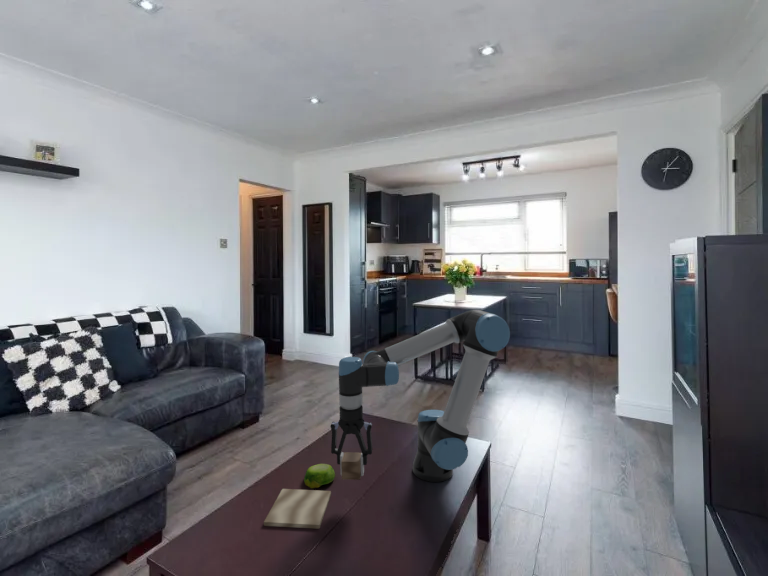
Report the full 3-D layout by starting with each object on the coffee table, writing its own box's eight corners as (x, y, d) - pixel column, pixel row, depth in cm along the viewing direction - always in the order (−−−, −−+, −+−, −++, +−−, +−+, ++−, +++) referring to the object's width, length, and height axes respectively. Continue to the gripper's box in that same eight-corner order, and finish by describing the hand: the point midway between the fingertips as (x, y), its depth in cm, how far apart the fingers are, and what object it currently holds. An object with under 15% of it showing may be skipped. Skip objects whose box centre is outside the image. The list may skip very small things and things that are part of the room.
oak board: (331, 494, 133) (331, 491, 133) (319, 528, 116) (319, 524, 116) (282, 492, 134) (282, 488, 134) (263, 525, 117) (263, 521, 117)
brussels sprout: (329, 491, 135) (329, 477, 135) (299, 487, 137) (299, 473, 137) (338, 473, 147) (338, 460, 146) (311, 470, 149) (311, 457, 148)
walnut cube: (362, 469, 131) (362, 452, 131) (360, 479, 125) (359, 461, 125) (345, 469, 132) (344, 452, 131) (341, 479, 126) (341, 461, 125)
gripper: (380, 401, 130) (381, 468, 132) (324, 400, 131) (326, 466, 133) (379, 410, 122) (380, 480, 124) (319, 409, 124) (321, 479, 125)
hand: (352, 473), depth 128 cm, fingers closed on walnut cube, 6 cm apart
